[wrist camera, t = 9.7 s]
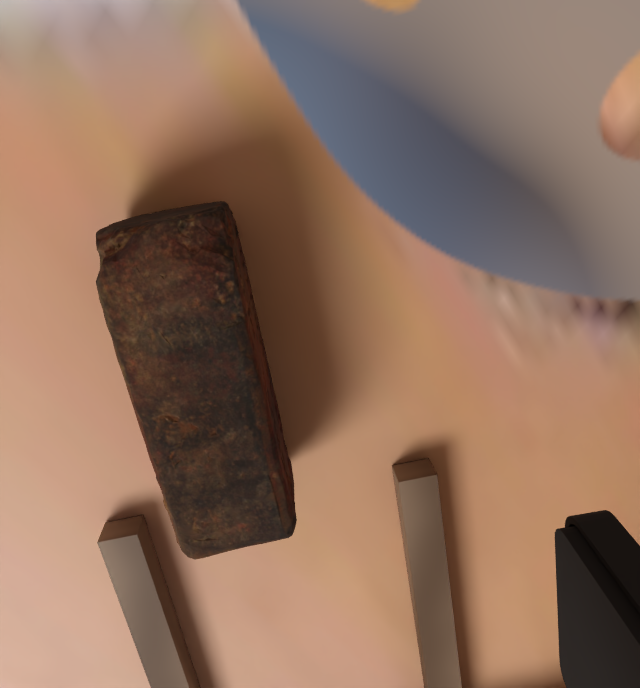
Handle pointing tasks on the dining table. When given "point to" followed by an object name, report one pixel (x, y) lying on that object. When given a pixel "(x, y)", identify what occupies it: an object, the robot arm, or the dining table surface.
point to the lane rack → (422, 566)
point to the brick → (198, 375)
